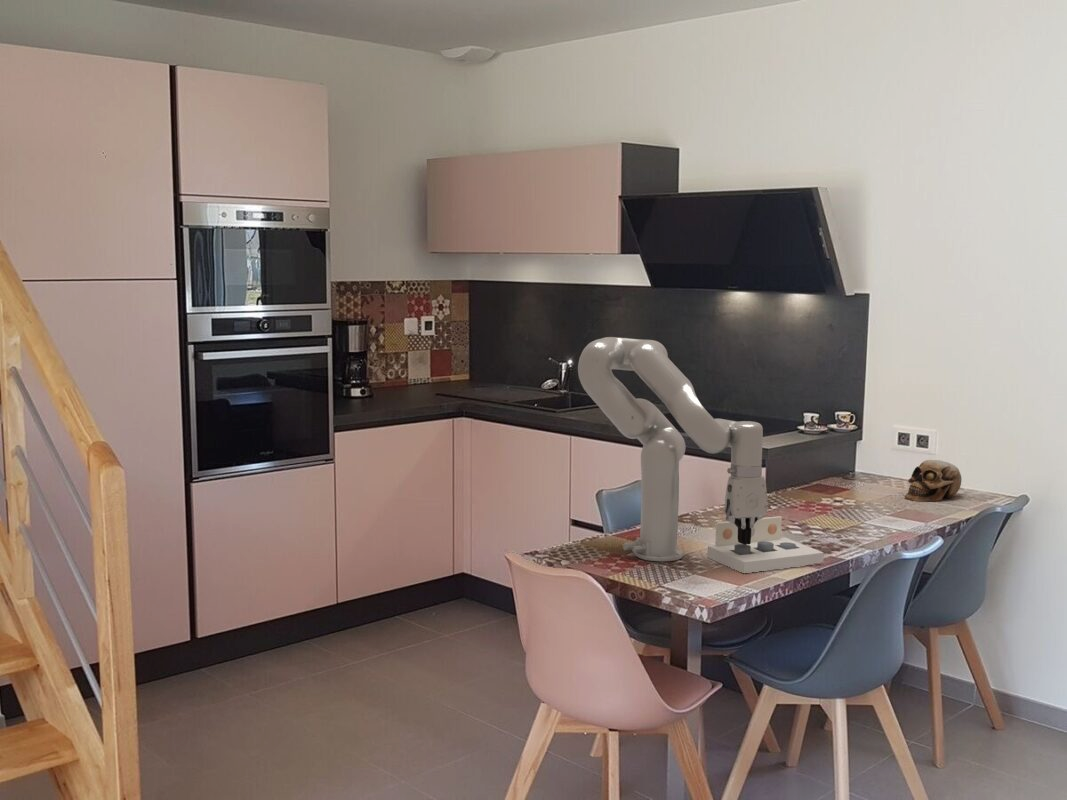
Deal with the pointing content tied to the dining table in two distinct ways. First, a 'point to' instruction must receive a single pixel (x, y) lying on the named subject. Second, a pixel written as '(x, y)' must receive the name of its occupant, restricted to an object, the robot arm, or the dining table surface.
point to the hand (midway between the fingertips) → (744, 543)
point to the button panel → (756, 559)
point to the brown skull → (934, 481)
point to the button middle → (765, 546)
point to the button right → (787, 545)
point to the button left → (742, 549)
